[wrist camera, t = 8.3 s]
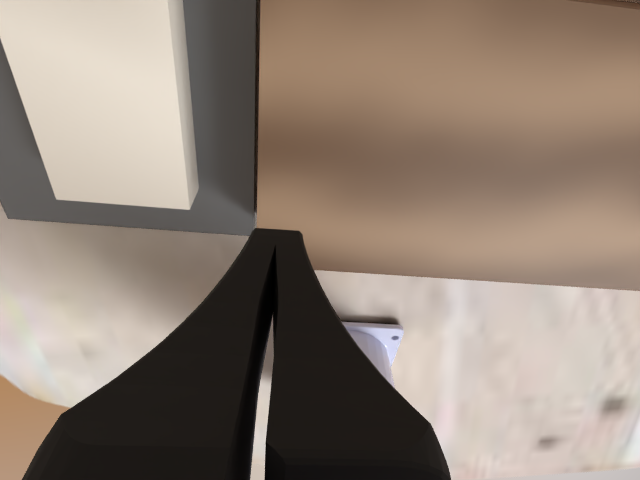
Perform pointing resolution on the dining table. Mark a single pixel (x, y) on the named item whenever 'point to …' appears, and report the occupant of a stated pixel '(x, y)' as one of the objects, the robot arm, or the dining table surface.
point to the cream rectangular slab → (106, 97)
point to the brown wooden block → (455, 137)
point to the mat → (209, 131)
